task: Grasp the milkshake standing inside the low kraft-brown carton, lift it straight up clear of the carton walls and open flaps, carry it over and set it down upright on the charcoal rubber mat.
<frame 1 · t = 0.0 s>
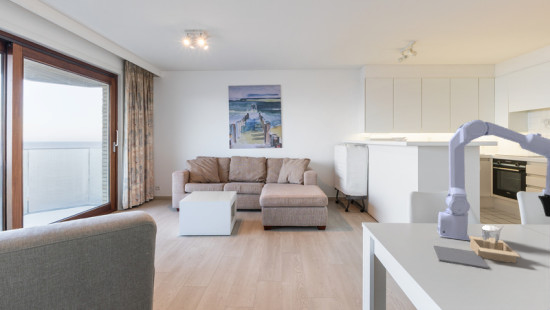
mat: (458, 257, 82), on the table
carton: (491, 254, 84), on the table
milkshake: (491, 255, 84), on the table
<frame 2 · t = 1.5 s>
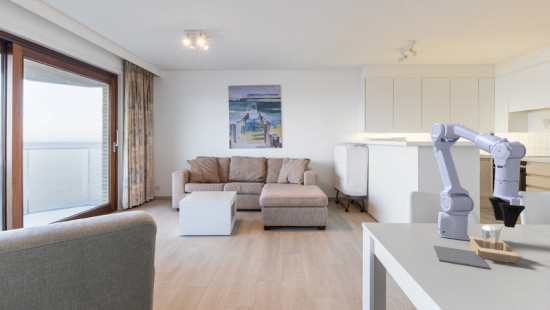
hand: (504, 223, 83), 10 cm above the table, tool pointing down, fingers open, 7 cm apart
nothing on the table moved.
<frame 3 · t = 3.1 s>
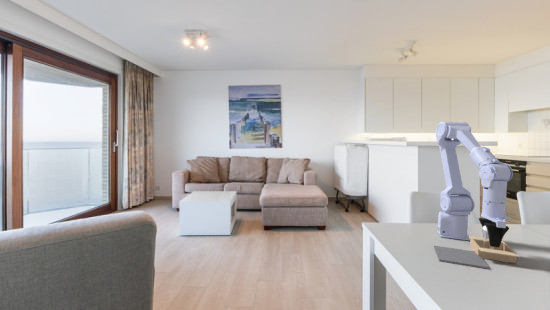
hand: (491, 243, 84), 3 cm above the table, tool pointing down, fingers closed on milkshake, 4 cm apart
milkshake: (491, 254, 84), on the table, touching gripper
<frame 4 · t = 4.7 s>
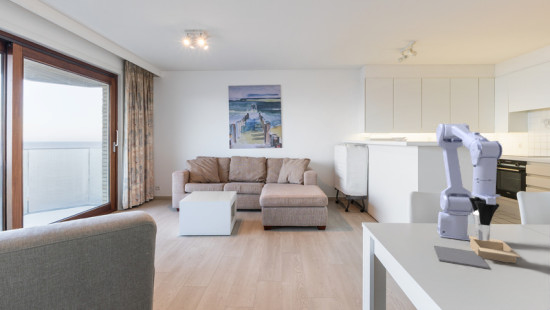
hand: (482, 222, 83), 10 cm above the table, tool pointing down, fingers closed on milkshake, 4 cm apart
milkshake: (484, 240, 83), point 5 cm above the table, touching gripper
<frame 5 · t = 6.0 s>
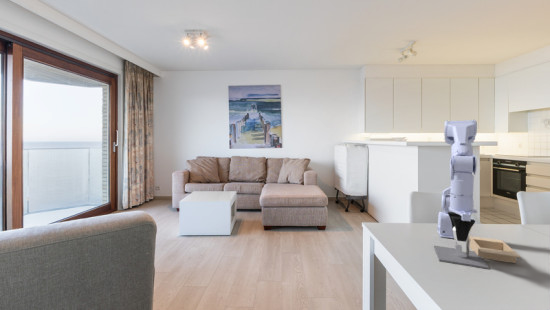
hand: (459, 238, 82), 6 cm above the table, tool pointing down, fingers closed on milkshake, 4 cm apart
milkshake: (464, 256, 81), on the table, touching gripper, mat
when the fingers open (5 cm above the table, at t = 6.6 s): milkshake stays where it is, resting on mat.
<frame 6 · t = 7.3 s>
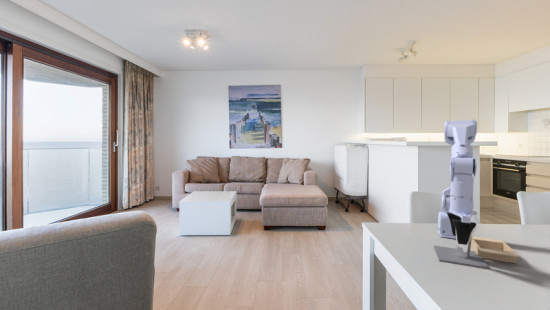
hand: (459, 239, 82), 5 cm above the table, tool pointing down, fingers open, 7 cm apart
milkshake: (464, 257, 81), resting on mat
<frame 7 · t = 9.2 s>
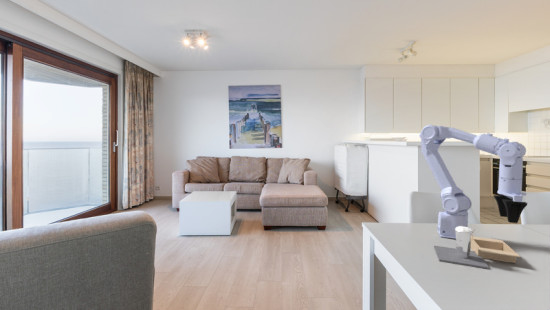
hand: (508, 219, 87), 10 cm above the table, tool pointing down, fingers open, 7 cm apart
nothing on the table moved.
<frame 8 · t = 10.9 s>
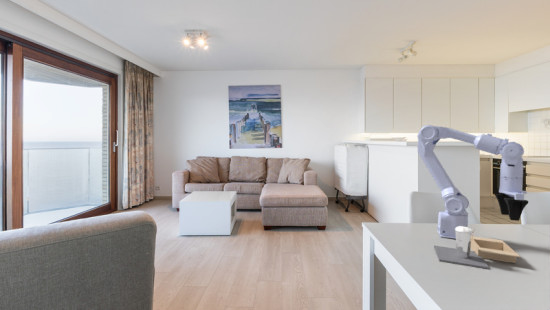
hand: (509, 217, 90), 10 cm above the table, tool pointing down, fingers open, 7 cm apart
nothing on the table moved.
at the end: milkshake inside the target area on the mat (1.4 cm from its centre), point 0.3 cm above the mat's base; milkshake tilted 0°; the gripper is holding nothing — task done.
